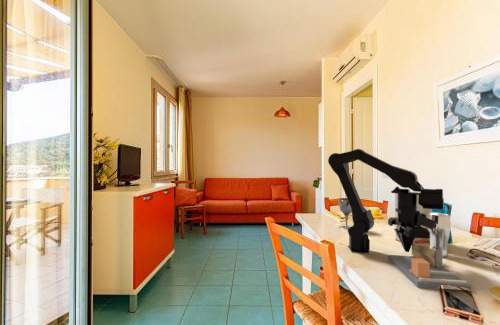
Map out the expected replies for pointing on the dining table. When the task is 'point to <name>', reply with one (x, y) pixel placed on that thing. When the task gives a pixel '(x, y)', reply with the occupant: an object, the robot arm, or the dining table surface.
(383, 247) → the dining table surface
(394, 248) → the dining table surface
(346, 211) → the wine glass
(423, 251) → the two-tone tan block
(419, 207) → the cracker box
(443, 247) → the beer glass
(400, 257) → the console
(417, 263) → the fader
